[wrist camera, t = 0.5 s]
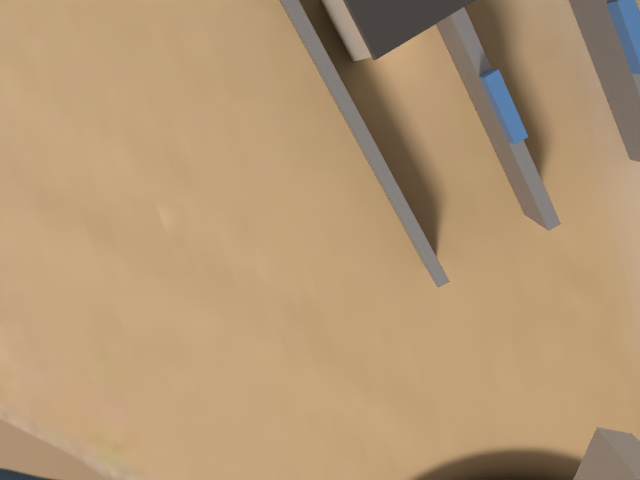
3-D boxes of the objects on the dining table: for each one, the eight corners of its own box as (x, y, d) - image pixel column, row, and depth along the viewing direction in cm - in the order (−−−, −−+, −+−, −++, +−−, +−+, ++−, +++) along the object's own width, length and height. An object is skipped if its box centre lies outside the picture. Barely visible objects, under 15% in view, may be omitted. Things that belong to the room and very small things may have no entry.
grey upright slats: (232, -86, 28) (218, -114, 24) (488, -258, 26) (523, -323, 22) (425, 267, 35) (441, 294, 31) (642, 153, 33) (692, 165, 28)
